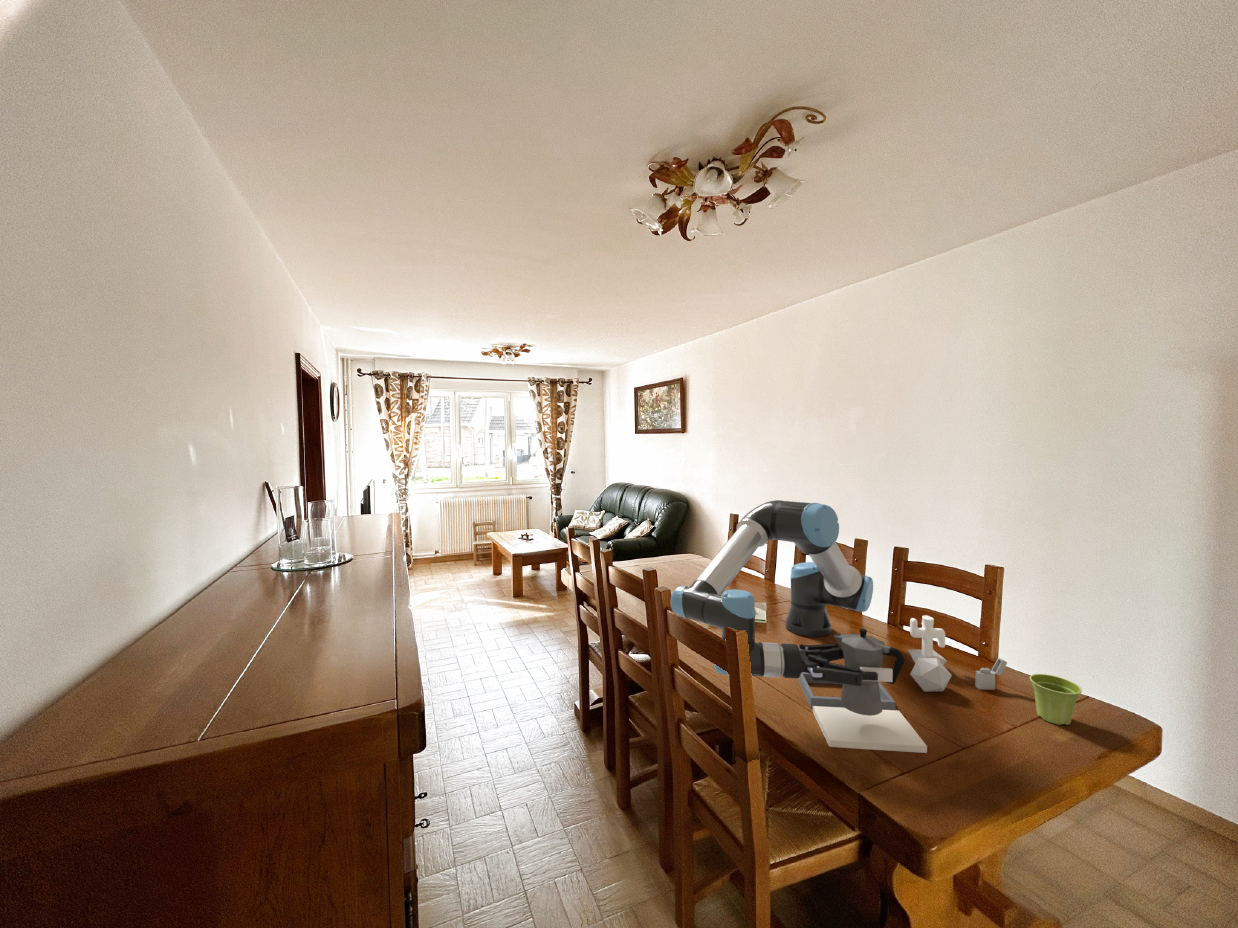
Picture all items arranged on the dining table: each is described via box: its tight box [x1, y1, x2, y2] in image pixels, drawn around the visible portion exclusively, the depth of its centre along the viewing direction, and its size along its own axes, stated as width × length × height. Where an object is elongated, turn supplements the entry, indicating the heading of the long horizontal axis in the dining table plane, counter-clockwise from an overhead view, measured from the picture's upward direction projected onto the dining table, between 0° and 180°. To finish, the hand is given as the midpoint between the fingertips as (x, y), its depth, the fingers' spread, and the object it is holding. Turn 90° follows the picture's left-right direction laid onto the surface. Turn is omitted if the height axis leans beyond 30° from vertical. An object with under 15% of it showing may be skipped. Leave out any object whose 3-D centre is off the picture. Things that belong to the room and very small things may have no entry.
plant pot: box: [1029, 673, 1083, 726], centre depth 119 cm, size 9×9×9 cm
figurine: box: [908, 614, 948, 666], centre depth 146 cm, size 7×9×15 cm
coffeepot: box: [833, 628, 906, 716], centre depth 114 cm, size 15×9×18 cm, turn 43°
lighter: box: [974, 657, 1008, 691], centre depth 133 cm, size 7×2×8 cm, turn 87°
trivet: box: [812, 706, 928, 754], centre depth 115 cm, size 14×20×2 cm
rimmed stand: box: [797, 672, 897, 710], centre depth 131 cm, size 14×20×2 cm
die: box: [909, 658, 952, 693], centre depth 134 cm, size 8×9×10 cm
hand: (882, 664), depth 114 cm, fingers closed on coffeepot, 9 cm apart
